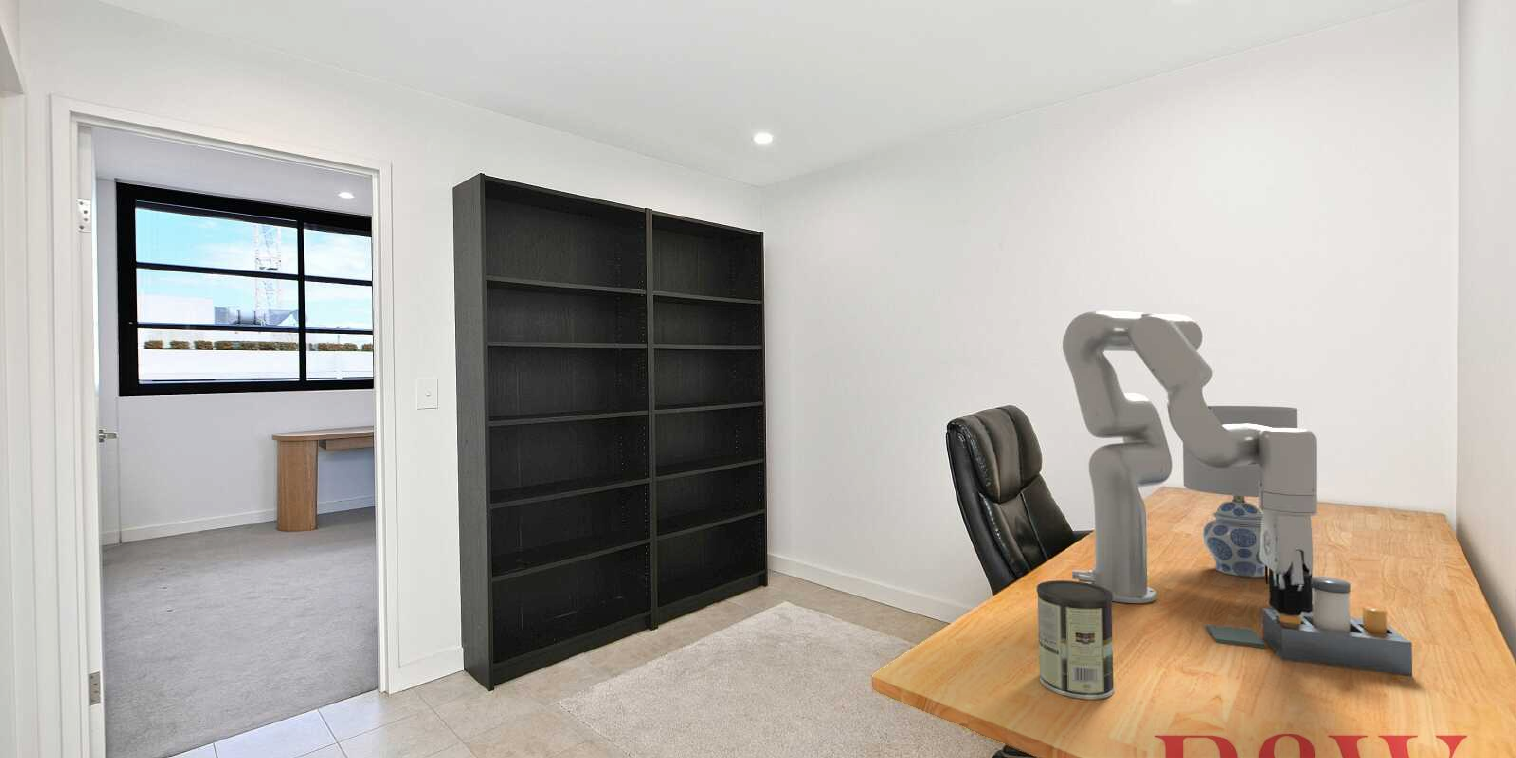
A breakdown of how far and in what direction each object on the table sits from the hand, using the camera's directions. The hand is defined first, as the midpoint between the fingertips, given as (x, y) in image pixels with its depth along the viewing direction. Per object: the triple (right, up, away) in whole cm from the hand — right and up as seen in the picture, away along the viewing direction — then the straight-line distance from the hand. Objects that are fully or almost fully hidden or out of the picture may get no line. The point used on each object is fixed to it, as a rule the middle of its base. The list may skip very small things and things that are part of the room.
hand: (1287, 612), depth 110 cm
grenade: (+13, -6, +16) cm, 22 cm away
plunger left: (0, -5, 0) cm, 5 cm away
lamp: (+24, -6, +43) cm, 49 cm away
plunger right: (+10, -3, -5) cm, 12 cm away
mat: (-5, -6, +5) cm, 10 cm away
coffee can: (-41, -7, -11) cm, 43 cm away
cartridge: (+5, -6, -2) cm, 8 cm away
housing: (+5, -6, -2) cm, 8 cm away
